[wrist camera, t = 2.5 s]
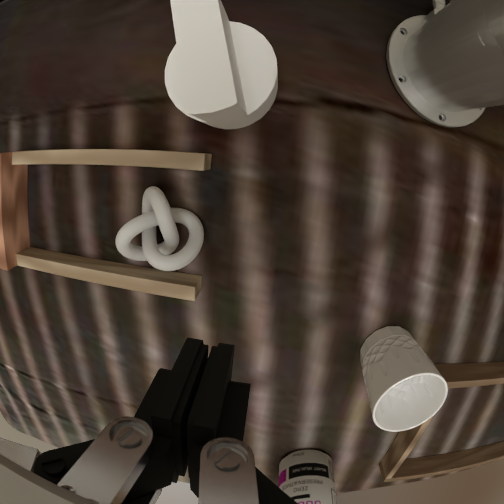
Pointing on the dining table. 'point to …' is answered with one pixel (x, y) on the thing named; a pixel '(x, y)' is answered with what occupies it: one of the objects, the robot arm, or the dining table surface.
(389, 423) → the white cup
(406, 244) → the dining table surface
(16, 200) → the guide channel
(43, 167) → the dining table surface
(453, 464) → the serving tray rim
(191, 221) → the knot
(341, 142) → the dining table surface
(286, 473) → the supplement can
